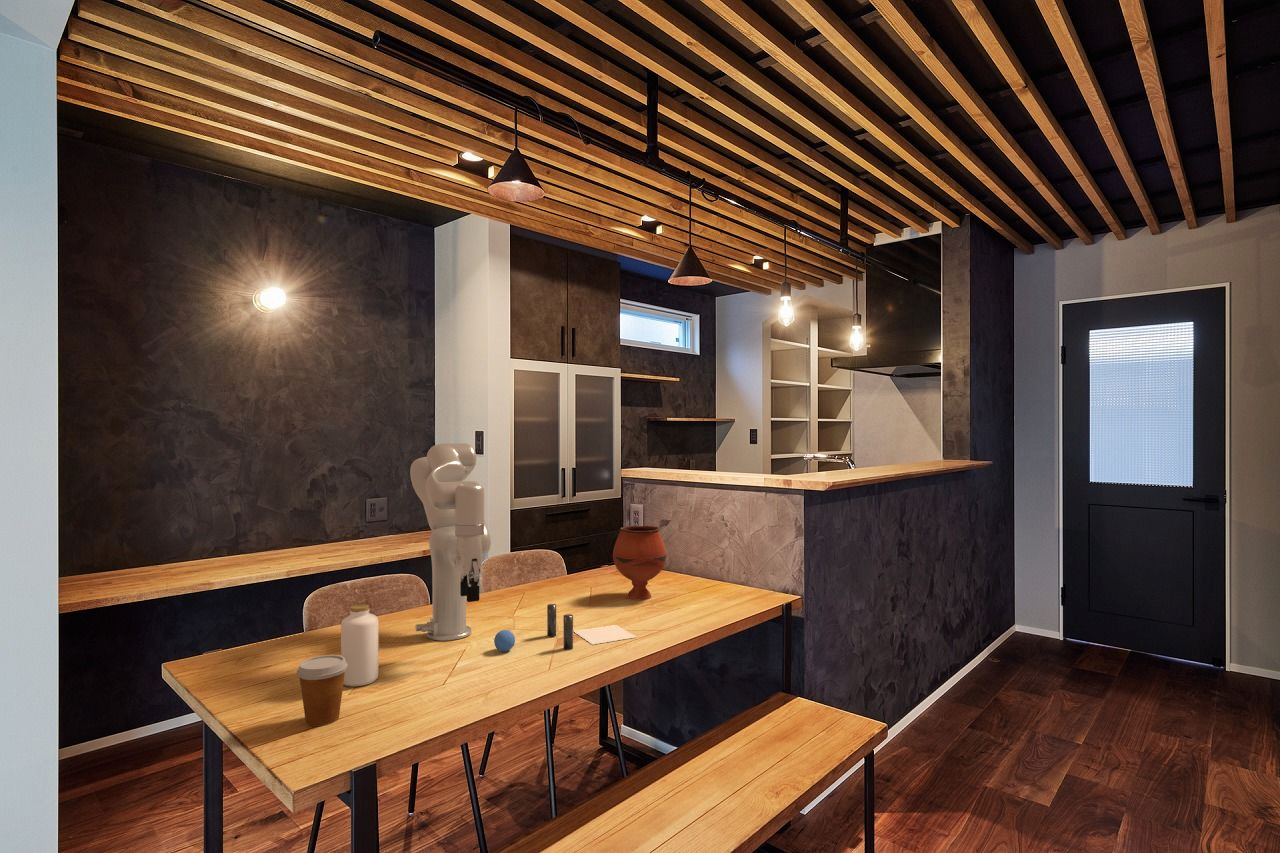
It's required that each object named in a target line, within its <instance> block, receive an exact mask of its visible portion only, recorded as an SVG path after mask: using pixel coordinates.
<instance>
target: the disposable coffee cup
mask: <svg viewBox="0 0 1280 853" xmlns="http://www.w3.org/2000/svg"><path fill="white" fill-rule="evenodd" d="M347 666H348V664H347V663H346V661H345V658H344V657H343V656H341V655H338V654H327V655H317V656H314V657H310V658H307V659H305V660H303V661H301V662H300V663H299V666H298V668H297V670H296V675H297V676H298V678H299V682H300V690H301V691H300V692H301V698H302V704H303V711H304V712H303V713H304V720H305V725H308V726H312V727H318V726H319V727H321V726H326V725H329V724H332V723H334V722H336V721H337V720H338V719H339V718H340V712H341V704H342V698H343V697H342V696H343V688H344V684H343V683H344V675H345V670H346V668H347Z"/></svg>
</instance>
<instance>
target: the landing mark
mask: <svg viewBox="0 0 1280 853" xmlns="http://www.w3.org/2000/svg"><path fill="white" fill-rule="evenodd" d="M574 632H575V633H574ZM573 633H574V634H576V635H577V634H578V635H579V636H578V635H577V636H578V637H580V638H581V637H582V639H583V640H584V639H585V640H584V641H586V642H587V641H588V642H587V643H589V645H592V646H595V644H596V645H601V644H600V643H602V644H608V643H614V642H619V641H618V640H620V641H624V640H623V639H626V640H631V639H630V638H632V639H636V638H638V637H637V636H636V635H634V634H632V633H630V632H629V631H627V630H626V629H625V628H622V627H620V626H618V625H617V624H611V625H605V627H604V626H597V627H592V628H591V629H590V628H584V629H578V630H573ZM613 641H614V642H613ZM607 642H608V643H607Z"/></svg>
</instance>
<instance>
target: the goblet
mask: <svg viewBox="0 0 1280 853" xmlns="http://www.w3.org/2000/svg"><path fill="white" fill-rule="evenodd" d="M666 549H667V548H666V546H665V543H664V540H663V538H662V534H661V532H660V527H658V526H654V525H653V526H652V525H634V526H633V525H628V526H623V527H620V528H619V534H618V535H617V538H616V541H615V544H614V546H613V550H612V560H613V563H614V566H615V568H616V569H617V570H618V572H619V573H620V574H621V575H622V576H624V577H625V578H626V579H628V580H630V581H631V585H632V586H633V587H632V589H630V590H629V591H628V593H627V594H626V597H627V599H629V600H636V601H644V600H649V599H651V598H652V594H651V592H650V590H648V588H647V585H649V581H650V580H652V579H654V578H656V576H658V575H659V573H661V572H662V570H663V569H664V567H665V565H666V562H667V550H666Z"/></svg>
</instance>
